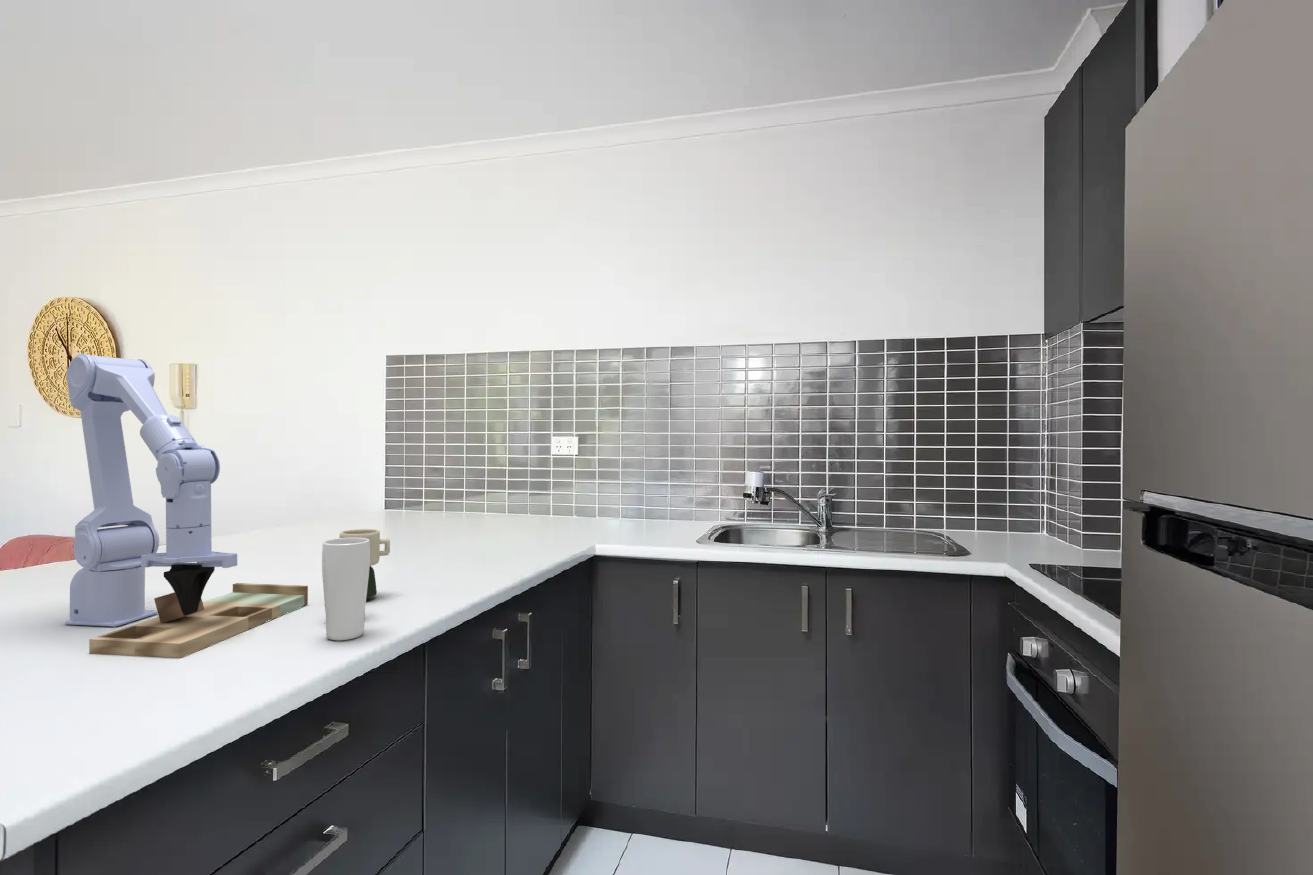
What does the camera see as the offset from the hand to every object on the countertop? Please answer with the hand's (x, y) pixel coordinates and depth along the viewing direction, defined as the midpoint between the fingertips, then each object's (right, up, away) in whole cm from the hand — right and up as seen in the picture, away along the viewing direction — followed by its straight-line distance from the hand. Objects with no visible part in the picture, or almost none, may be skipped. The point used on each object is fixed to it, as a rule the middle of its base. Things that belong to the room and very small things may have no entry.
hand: (189, 613), depth 99 cm
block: (-2, -1, +1) cm, 2 cm away
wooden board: (0, -3, +5) cm, 6 cm away
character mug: (+16, -4, +22) cm, 28 cm away
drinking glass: (+24, -4, +1) cm, 24 cm away
